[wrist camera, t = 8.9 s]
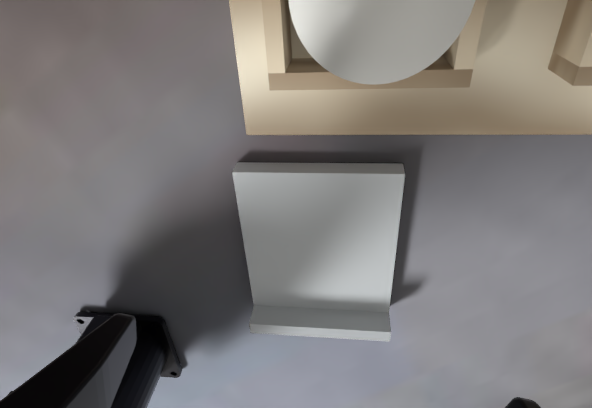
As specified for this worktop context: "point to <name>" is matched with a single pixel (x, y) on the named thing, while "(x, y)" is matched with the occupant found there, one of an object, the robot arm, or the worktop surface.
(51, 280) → the worktop surface
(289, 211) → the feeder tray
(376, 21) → the white capsule peg
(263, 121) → the socket board
